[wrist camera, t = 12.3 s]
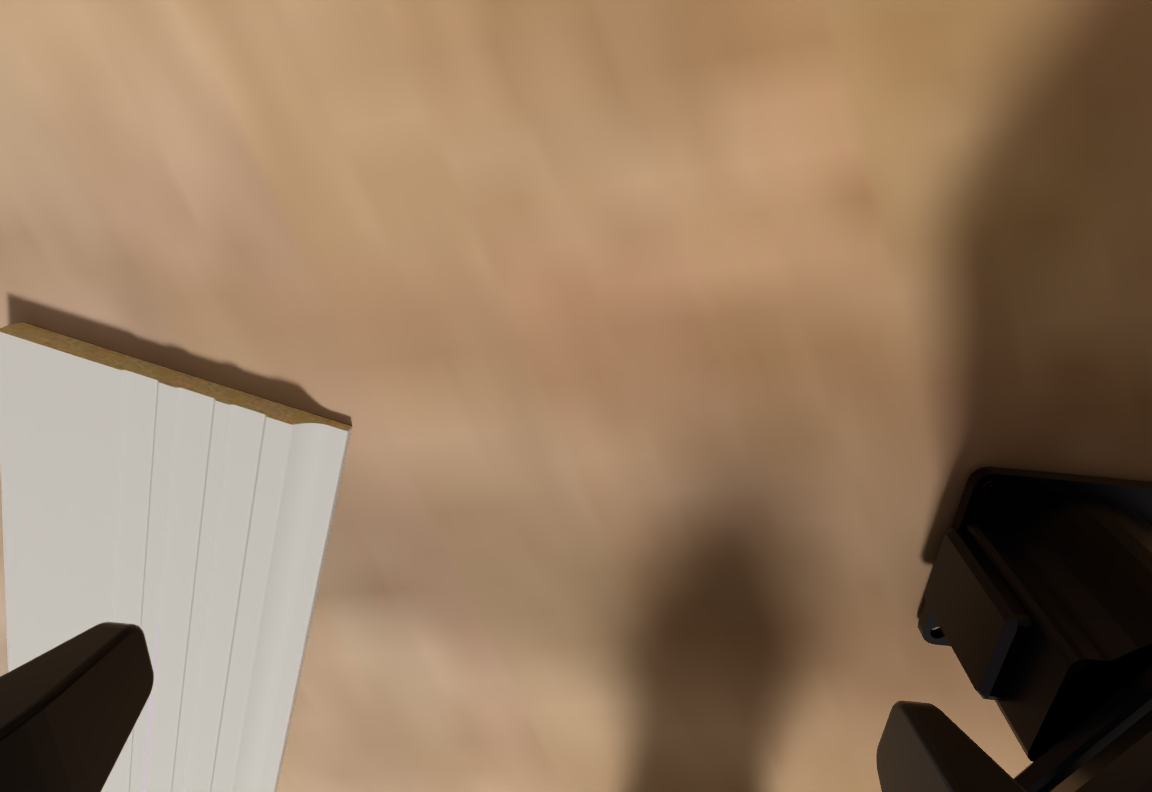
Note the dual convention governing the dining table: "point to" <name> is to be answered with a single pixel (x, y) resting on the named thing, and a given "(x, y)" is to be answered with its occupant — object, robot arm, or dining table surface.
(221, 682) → the baseboard molding
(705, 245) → the dining table surface
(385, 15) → the dining table surface
